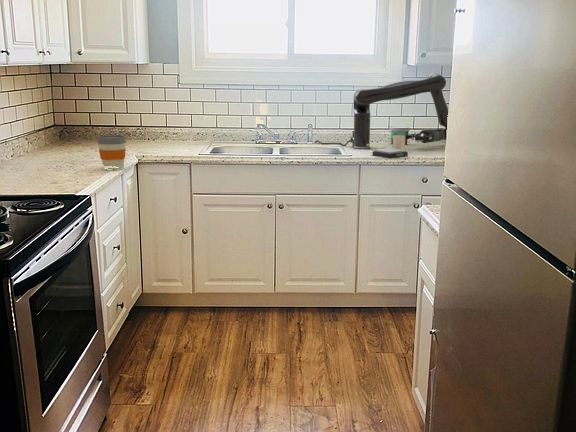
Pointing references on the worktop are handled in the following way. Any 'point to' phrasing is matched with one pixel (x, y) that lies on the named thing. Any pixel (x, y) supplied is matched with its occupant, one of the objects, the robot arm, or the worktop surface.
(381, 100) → the robot arm
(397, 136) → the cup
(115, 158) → the reusable coffee cup
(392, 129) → the food container
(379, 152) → the scale
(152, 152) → the worktop surface
